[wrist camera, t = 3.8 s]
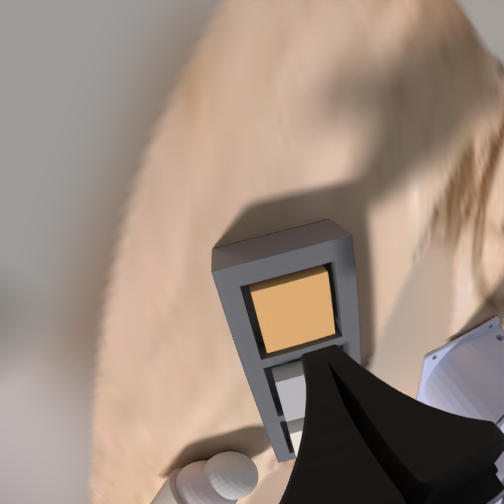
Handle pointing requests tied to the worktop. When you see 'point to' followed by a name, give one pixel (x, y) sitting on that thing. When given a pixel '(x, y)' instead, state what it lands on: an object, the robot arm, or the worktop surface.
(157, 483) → the worktop surface
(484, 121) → the worktop surface
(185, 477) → the ice cream cone
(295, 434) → the cream key
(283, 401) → the grey key
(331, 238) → the grey compartment tray
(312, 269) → the amber key
